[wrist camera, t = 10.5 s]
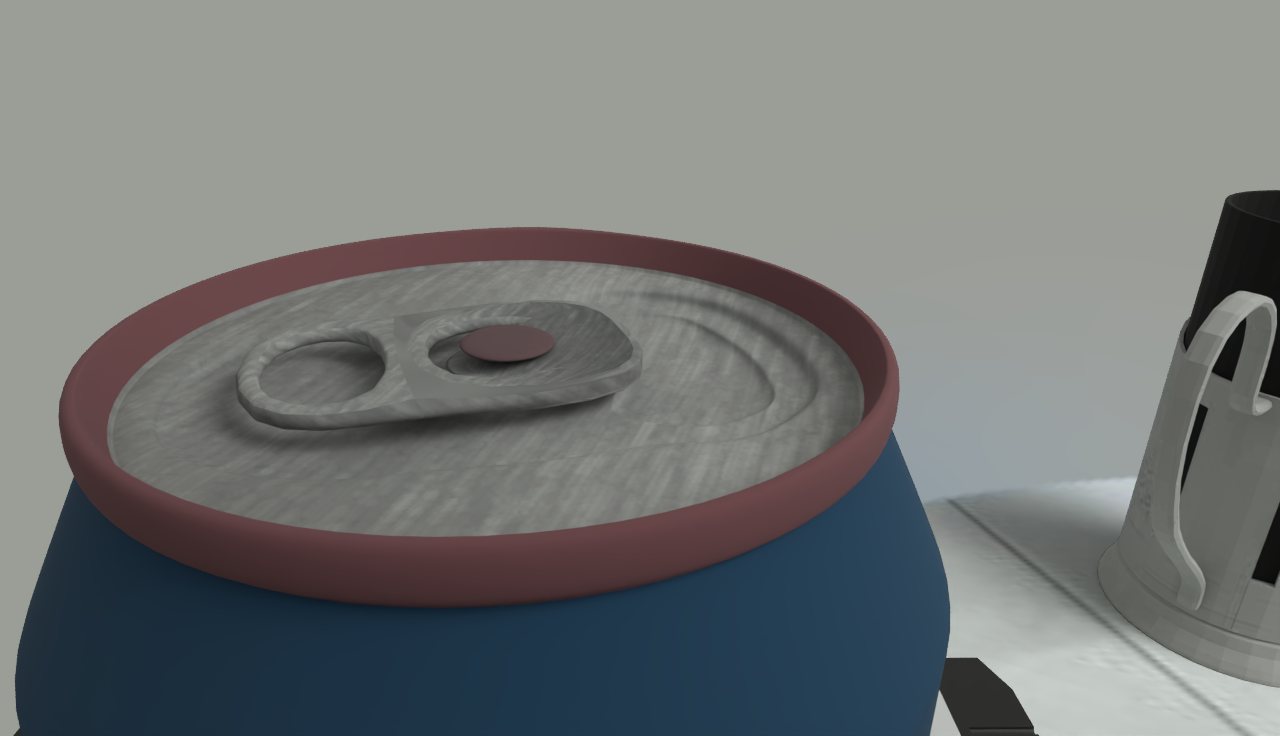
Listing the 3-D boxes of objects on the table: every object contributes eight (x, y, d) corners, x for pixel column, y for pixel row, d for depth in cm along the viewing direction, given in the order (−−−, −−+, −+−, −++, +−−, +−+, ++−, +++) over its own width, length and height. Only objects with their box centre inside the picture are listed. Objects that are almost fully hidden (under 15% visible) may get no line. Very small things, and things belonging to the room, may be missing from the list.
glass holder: (1406, 625, 32) (1596, 227, 26) (1235, 815, 24) (1449, 313, 18) (1163, 515, 38) (1268, 177, 32) (968, 637, 31) (1058, 224, 25)
